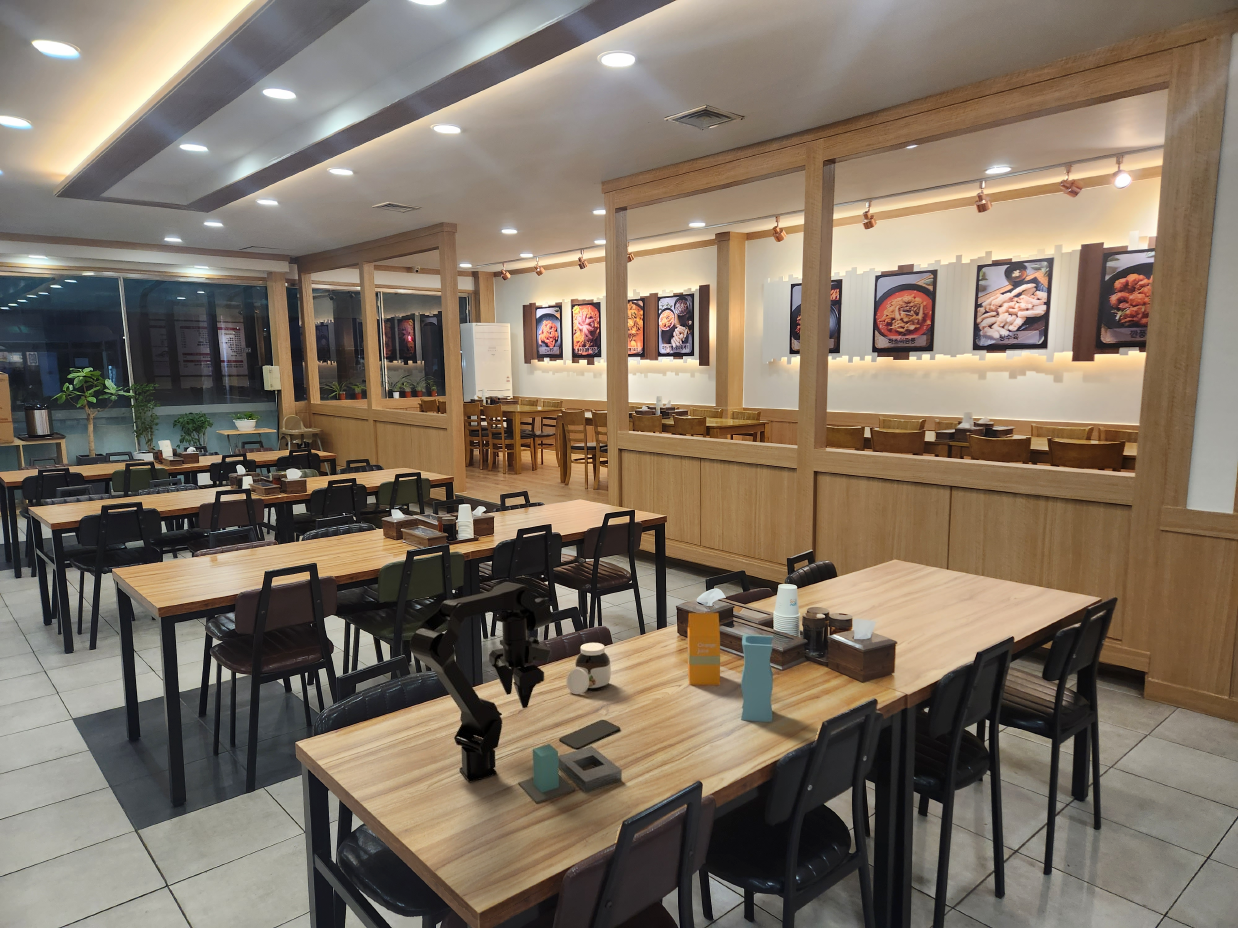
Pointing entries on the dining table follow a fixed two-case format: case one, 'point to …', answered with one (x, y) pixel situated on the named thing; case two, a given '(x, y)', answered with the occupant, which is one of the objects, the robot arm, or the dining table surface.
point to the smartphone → (589, 734)
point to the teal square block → (545, 768)
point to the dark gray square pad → (543, 796)
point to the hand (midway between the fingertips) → (516, 700)
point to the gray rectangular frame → (593, 777)
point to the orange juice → (703, 649)
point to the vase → (757, 678)
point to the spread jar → (590, 669)
